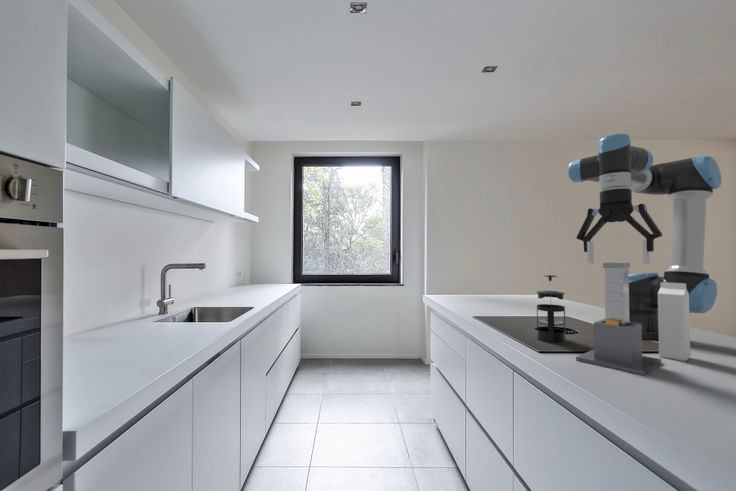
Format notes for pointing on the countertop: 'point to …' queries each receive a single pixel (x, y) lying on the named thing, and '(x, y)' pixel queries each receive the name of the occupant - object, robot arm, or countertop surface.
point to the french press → (550, 317)
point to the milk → (674, 321)
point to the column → (617, 292)
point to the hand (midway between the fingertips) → (617, 263)
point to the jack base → (619, 348)
